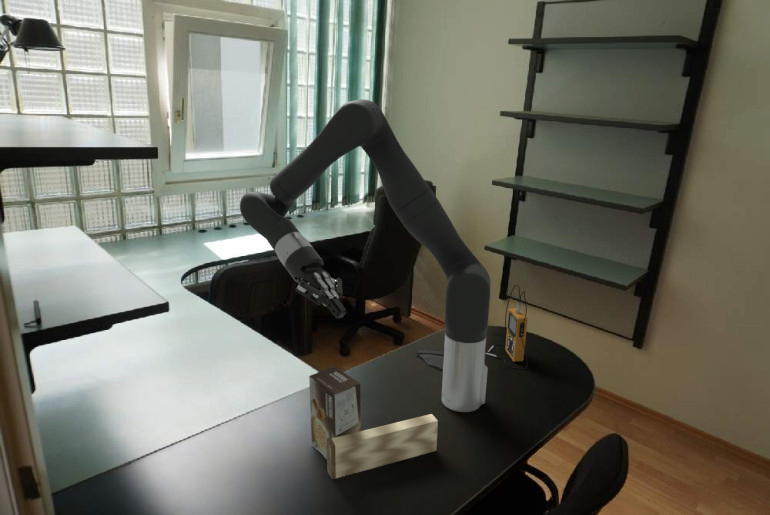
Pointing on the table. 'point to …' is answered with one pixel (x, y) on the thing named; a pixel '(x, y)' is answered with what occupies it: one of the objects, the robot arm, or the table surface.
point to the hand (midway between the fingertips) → (342, 315)
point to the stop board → (381, 445)
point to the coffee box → (333, 406)
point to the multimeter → (515, 332)
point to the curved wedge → (432, 358)
